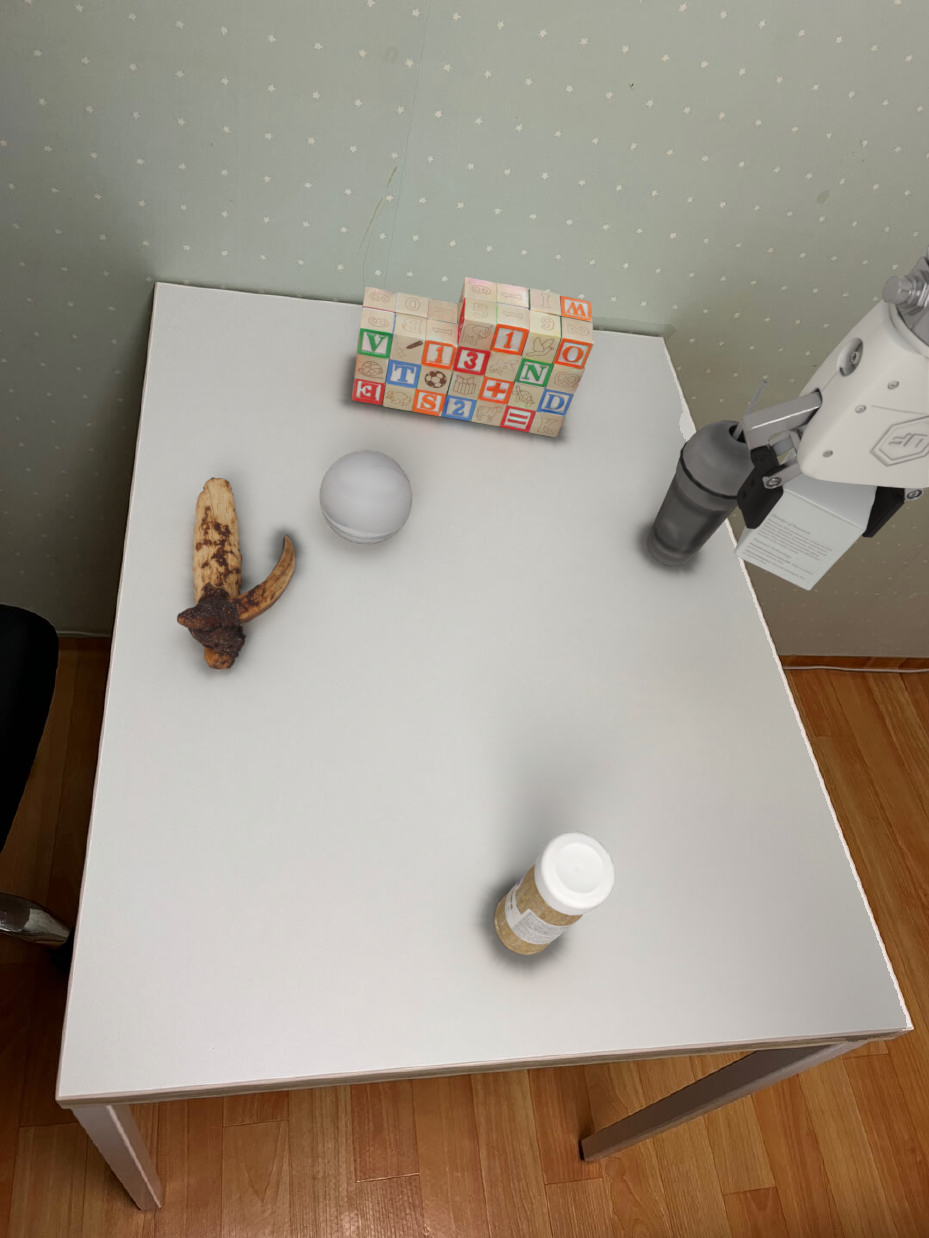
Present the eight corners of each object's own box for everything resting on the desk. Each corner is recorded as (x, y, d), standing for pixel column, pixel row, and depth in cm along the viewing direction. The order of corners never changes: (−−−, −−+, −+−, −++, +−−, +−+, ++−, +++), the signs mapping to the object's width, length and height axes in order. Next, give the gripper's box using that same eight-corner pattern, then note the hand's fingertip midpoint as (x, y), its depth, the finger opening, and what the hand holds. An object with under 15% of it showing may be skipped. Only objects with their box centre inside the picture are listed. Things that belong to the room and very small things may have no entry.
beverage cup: (635, 572, 81) (729, 417, 64) (630, 513, 85) (717, 352, 68) (709, 583, 82) (819, 433, 65) (700, 523, 86) (802, 368, 69)
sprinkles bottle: (508, 879, 63) (559, 815, 52) (564, 910, 62) (628, 852, 51) (481, 936, 60) (529, 882, 49) (539, 969, 60) (601, 922, 49)
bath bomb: (369, 479, 81) (379, 417, 74) (424, 537, 78) (438, 478, 72) (299, 515, 77) (301, 453, 71) (353, 576, 75) (361, 518, 68)
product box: (751, 501, 65) (801, 431, 59) (826, 537, 65) (884, 470, 58) (730, 555, 62) (781, 487, 56) (809, 594, 61) (869, 530, 55)
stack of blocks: (349, 403, 86) (360, 299, 76) (356, 361, 89) (368, 255, 79) (558, 438, 89) (595, 342, 79) (557, 396, 92) (592, 299, 82)
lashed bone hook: (301, 675, 69) (291, 498, 78) (305, 646, 65) (294, 463, 74) (178, 678, 67) (182, 494, 76) (175, 648, 63) (180, 458, 72)
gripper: (845, 338, 42) (698, 552, 57) (1141, 375, 46) (931, 568, 60) (803, 244, 46) (676, 467, 61) (1078, 284, 50) (895, 486, 64)
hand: (803, 516), depth 60 cm, fingers closed on product box, 8 cm apart
